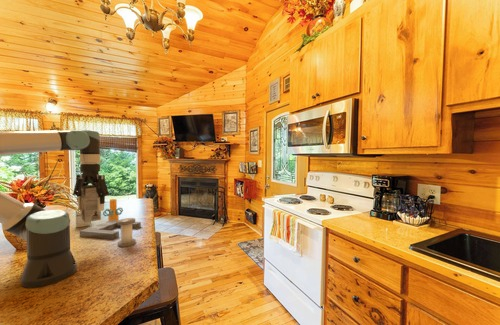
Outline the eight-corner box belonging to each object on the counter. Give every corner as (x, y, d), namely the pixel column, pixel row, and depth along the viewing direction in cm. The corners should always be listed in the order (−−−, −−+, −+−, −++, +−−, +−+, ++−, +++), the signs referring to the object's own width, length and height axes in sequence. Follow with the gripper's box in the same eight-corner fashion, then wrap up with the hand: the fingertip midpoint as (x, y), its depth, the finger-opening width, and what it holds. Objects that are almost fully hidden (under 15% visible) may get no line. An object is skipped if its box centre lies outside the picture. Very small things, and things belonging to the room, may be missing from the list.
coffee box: (80, 219, 102) (80, 185, 102) (96, 216, 107) (96, 184, 107) (84, 222, 96) (84, 187, 96) (101, 219, 101) (101, 185, 101)
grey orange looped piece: (106, 225, 139) (105, 202, 139) (100, 222, 146) (99, 200, 145) (126, 220, 149) (125, 199, 149) (119, 217, 155) (119, 197, 155)
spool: (127, 247, 104) (127, 223, 104) (113, 246, 106) (113, 222, 105) (139, 241, 112) (139, 218, 111) (126, 240, 113) (125, 217, 113)
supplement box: (75, 227, 134) (74, 207, 134) (77, 224, 141) (77, 205, 140) (89, 225, 138) (89, 206, 137) (91, 222, 144) (91, 204, 144)
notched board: (112, 239, 115) (112, 233, 115) (79, 236, 119) (79, 230, 119) (140, 226, 135) (140, 222, 135) (111, 224, 140) (111, 220, 140)
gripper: (117, 163, 102) (118, 209, 103) (78, 163, 107) (79, 207, 108) (103, 163, 95) (104, 213, 95) (62, 163, 100) (63, 210, 100)
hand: (91, 210), depth 102 cm, fingers closed on coffee box, 10 cm apart
